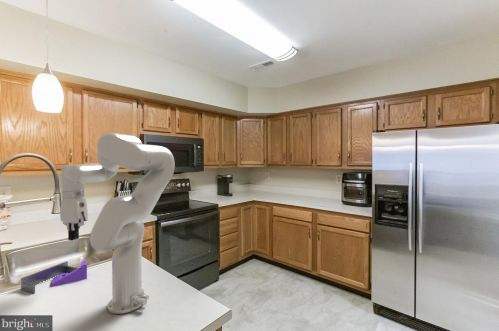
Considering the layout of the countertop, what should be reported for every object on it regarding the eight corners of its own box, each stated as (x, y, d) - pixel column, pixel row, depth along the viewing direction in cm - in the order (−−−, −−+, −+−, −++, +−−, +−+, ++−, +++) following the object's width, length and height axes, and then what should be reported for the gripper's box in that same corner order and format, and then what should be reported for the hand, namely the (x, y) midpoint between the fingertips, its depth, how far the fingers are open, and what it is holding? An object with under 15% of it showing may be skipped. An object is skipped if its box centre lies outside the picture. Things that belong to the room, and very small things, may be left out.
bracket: (86, 274, 110) (86, 259, 110) (86, 280, 105) (86, 264, 104) (53, 281, 103) (53, 265, 103) (51, 288, 98) (51, 271, 98)
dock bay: (77, 274, 109) (77, 263, 109) (33, 293, 93) (33, 281, 93) (66, 272, 111) (66, 261, 111) (21, 290, 95) (20, 278, 95)
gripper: (95, 194, 99) (95, 238, 99) (69, 193, 104) (70, 235, 104) (77, 196, 92) (77, 244, 92) (50, 195, 97) (51, 240, 97)
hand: (73, 239), depth 98 cm, fingers closed
